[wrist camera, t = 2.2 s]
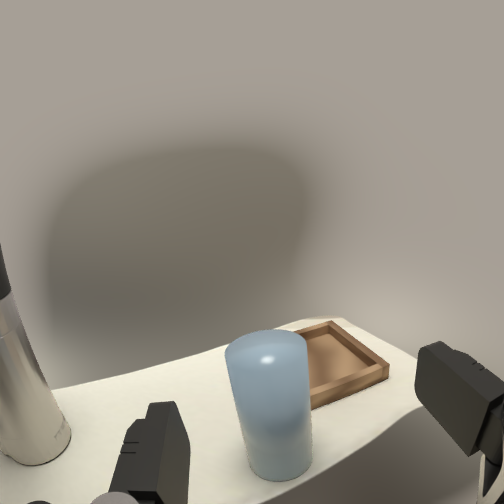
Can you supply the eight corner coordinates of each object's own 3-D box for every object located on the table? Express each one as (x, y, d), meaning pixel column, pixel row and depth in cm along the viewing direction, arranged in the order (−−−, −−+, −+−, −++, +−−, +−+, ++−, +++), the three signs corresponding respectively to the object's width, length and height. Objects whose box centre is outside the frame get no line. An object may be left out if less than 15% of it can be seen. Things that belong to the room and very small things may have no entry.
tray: (292, 416, 29) (290, 402, 29) (254, 354, 42) (252, 342, 42) (388, 378, 32) (389, 364, 32) (332, 332, 45) (331, 320, 45)
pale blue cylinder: (259, 489, 20) (234, 380, 18) (242, 446, 26) (218, 340, 23) (323, 467, 22) (321, 355, 19) (298, 430, 27) (288, 323, 24)
